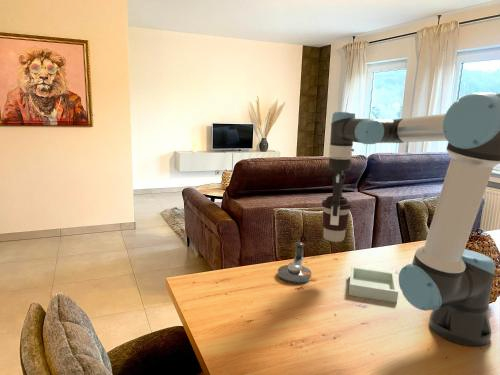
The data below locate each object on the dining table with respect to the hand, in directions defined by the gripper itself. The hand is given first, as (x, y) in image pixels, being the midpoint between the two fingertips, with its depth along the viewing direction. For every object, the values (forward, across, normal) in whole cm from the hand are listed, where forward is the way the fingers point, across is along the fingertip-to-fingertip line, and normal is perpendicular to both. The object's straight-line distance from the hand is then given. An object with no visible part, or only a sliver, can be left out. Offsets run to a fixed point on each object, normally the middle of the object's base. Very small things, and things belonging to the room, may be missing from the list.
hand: (335, 220), depth 132 cm
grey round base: (+21, -4, +13) cm, 25 cm away
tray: (+22, -4, -14) cm, 26 cm away
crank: (+19, 0, +13) cm, 23 cm away
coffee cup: (+7, 0, 0) cm, 7 cm away
